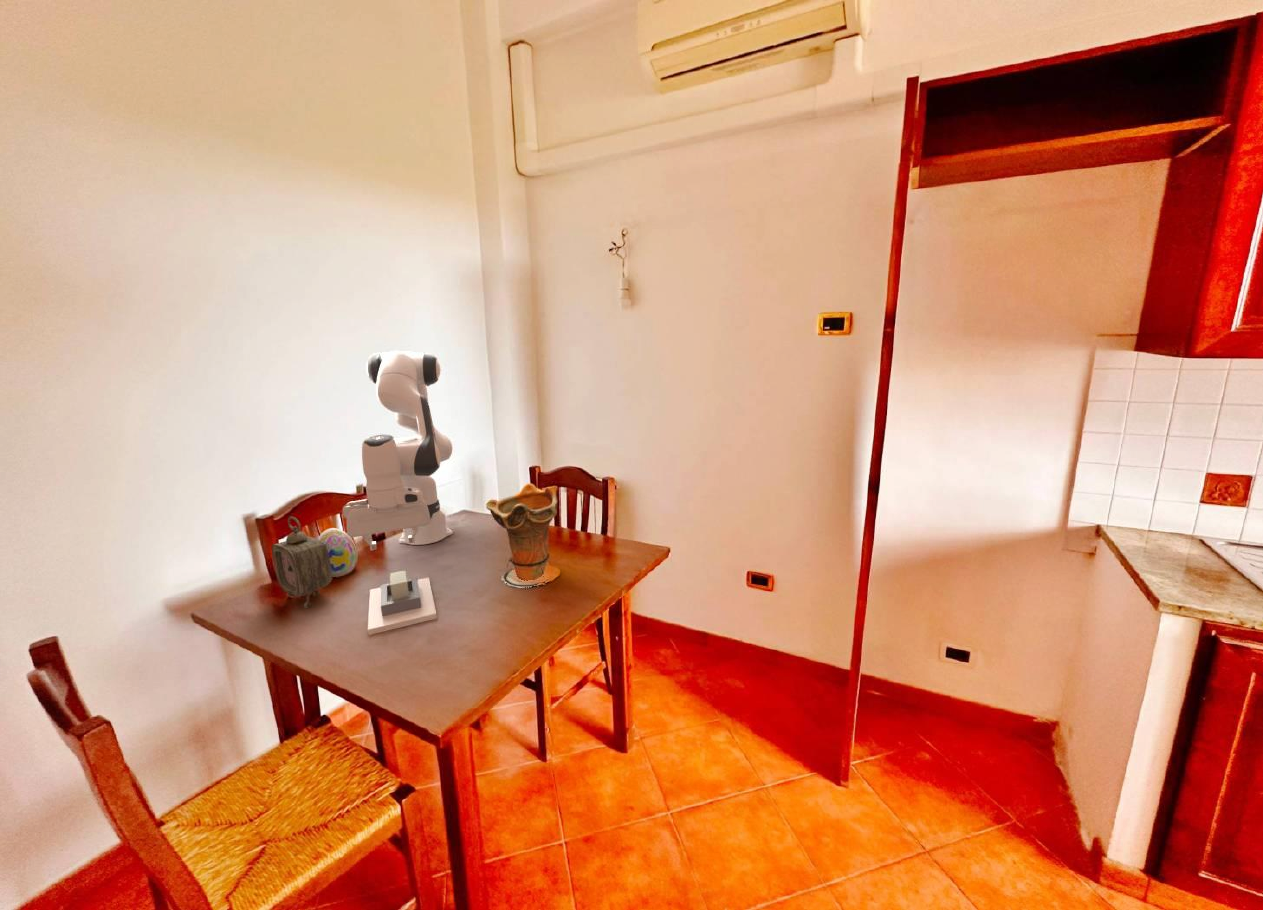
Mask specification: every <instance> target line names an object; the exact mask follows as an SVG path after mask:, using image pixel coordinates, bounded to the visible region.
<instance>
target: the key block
mask: <svg viewBox="0 0 1263 910" xmlns="http://www.w3.org/2000/svg"><path fill="white" fill-rule="evenodd" d="M389 577H390V578H389V581H390V582H389V583H390V586H391V593H392V600H393V601H395V600H399V599H404V598H408V597H409V591H408V584H407V579H408V578H407V571H406V570H401V571H395V572H390V573H389Z"/></svg>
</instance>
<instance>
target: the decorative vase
mask: <svg viewBox="0 0 1263 910" xmlns="http://www.w3.org/2000/svg"><path fill="white" fill-rule="evenodd" d="M558 489H559V487H558V486H556V485H553V486H547V487H545V489H544V490H542V489H540V488H538V487H537V486H536V485H535V484H534V483H531V482H530V483H529V482H528V483H527V484H525V485H524V486H523V487H522V488H521V491H520V492H518V493H516V494H514V495H511V496H510V495H509V496H507V497H505V498H501V499H498V500H497V499H490V500H488V501H487V503H486V504H485V505H486V507H485V508H486V509H487V510H488V511H490V514H491V516H492V518H493V519H494V520H495V522H496V523H497V524H498V525H499V526H501V527H502V528H503V529H505V530H506V533H507V538H508V543H509V546H510V547H509V548H510V551H511V557H510V559H508V563H507V565H506V567H508V566H509V563H510V562H511V564H512V565H513V567H512V568H511V569H510V570H509V571H507V572H506V573H504V574H503V575H502V576H501V579H500V580H501V581H503V583H504V584H506V583H507V584H506V585H507V586H509V587H512V588H513V587H514V588H517V589H530V588H532V586H534V585H535V586H536V585H537V584H539V583H545V581H544V582H537V583H536V582H533V583H535V584H521V583H525V582H522V581H519V580H513V579H512V578H509V577H515V576H514V575H512V570H515V573H516V575H517V576H516V577H518V578H519V579H521V580H524V581H525V580H526V581H528V580H535V579H537V578H539V577H541V576H542V575H543V574H544V571H545V567H546V565H547V564H548V561H549V557H550V554H549V542H550V541H549V527H550V524H551V522H552V521H553V519H554V518H555V517H556V516H557V514H558V513H557V512H558V496H557V492H558ZM543 577H544V576H543ZM547 580H549V579H547ZM547 580H546V581H547ZM519 583H520V584H519ZM530 583H532V582H530ZM525 587H526V588H525ZM527 587H528V588H527ZM529 587H530V588H529Z"/></svg>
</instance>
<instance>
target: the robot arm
mask: <svg viewBox="0 0 1263 910" xmlns="http://www.w3.org/2000/svg"><path fill="white" fill-rule="evenodd" d="M441 371H442V370H441V365H440V362H439V360H438V358H437V356H436V355H434V354H431V353H429V352H424V353H423V352H421V353H420V352H416V351H414V352H413V351H399V350H393V351H389V352H381V351H380V352H374V353H371V355H370V356H369V357H368V358H367V362H366V373H367V376H368V378H369V380H370V382H372V383H373V384H375V387H376V389H375V392H376V397H377V400H378V402H380V404H381V405H382V406H383V407H384V408H385V409H386V410H389V411H391V412H393V413H394V415H395V421H396V423H397V424H398V425H399V426H401V427H403V428H405V429H408V430H411V431H414V432H415V433H414V434H415V435H414V436H408V437H399V438H395V437H394V436H393V435H390V434H385V433H380V434H374V435H371V436H368V437H366V438H364V440H363V441H362V443H361V444H362V445H361V461H362V463H361V464H362V471H363V474H364V476H365V478H366V483H365V489H366V490H365V491H366V496H367V497H366V499H361V500H360V499H359V500H355V501H353V500H352V501H348V502H347V503H346V504H345V505H344V506H343V507H342V510H341V511H342V516H343V517H344V518H345V520H346V533H347V535H348V536H350V537H351V539H353V538H357V537H363V540H364V541H365V542H366V543H367V544H368V545H369V549H370V551H374V550H377V541H376V540H375V541H373V540H372V539H370V538H371V535H375V534H376V535H377V534H382V533H383V534H384V533H387V532H393V531H394V532H395V531H399V530H402V534H401V536H400V538H399V539H398V543H399V544H408V545H412V546H413V545H415V546H420V545H428V544H432V543H436V542H439V541H441V540H443V539H445V538H447V537H448V536H451V535H453V530H452V529H450V527H449V526H448V525H447V521H446V519H447V518H446V515H445V513H444V512H443V511H442V510H441V503H440V500H439V499H438V491H437V484H436V480H435V479H434V478H433V477H432V475H433V474H435V473H436V472H437V471H438V470H439V469H440V466H441V463H442V462H444V461H447V460H449V459H450V458H451V456H452V454H453V444H452V441H451V440H450V439H449V437H448V436H446V435H445V434H444V433H441V432H440V431H439V430H438V429H437V428H436V427H435V426H434V423H433V419H432V418H433V417H432V412H431V408H430V405H429V396H428V389H427V388H428V387H430V386H431V385H434V384H436V383H437V382H438V381H439V378H440V377H441V376H440V375H441Z"/></svg>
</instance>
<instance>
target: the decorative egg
mask: <svg viewBox="0 0 1263 910" xmlns="http://www.w3.org/2000/svg"><path fill="white" fill-rule="evenodd" d="M317 539H318V540H320V541H322V542H324V543H325V544H326V546H327V549H328V553H329V558H330V563H331V570H332V577H336V578H340V576H341V577H343V576H346V575H348V574H350V573H351V572H352V571H354V569H355V567H356V565H357V561H358V549H357V546H356V544H355V542H354V540H353V538H351V537H350V536H348V535H347V532H345V531H344V530H342V529H339V528H335V527H329V528H327V529H326V530H324V531H323V532H322V533H321V534H320V535H319V536H318V538H317Z"/></svg>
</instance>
